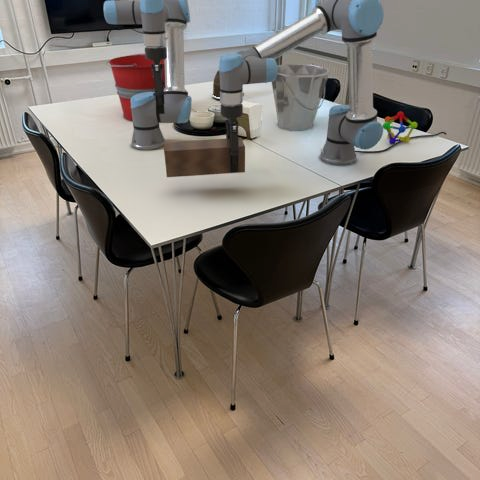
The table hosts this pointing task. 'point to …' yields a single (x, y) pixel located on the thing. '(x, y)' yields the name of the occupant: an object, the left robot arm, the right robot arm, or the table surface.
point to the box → (201, 157)
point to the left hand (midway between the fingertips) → (160, 108)
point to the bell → (216, 85)
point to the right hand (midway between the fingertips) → (232, 166)
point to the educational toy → (398, 128)
